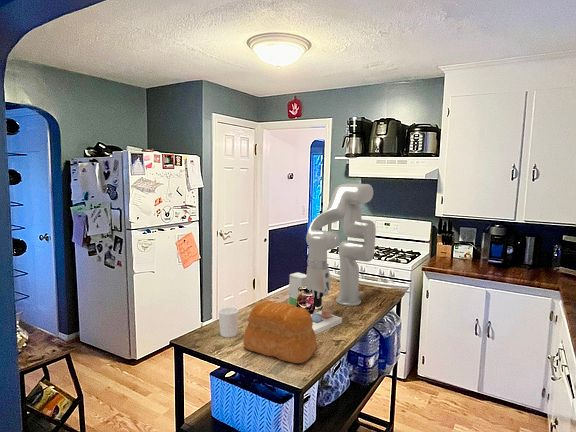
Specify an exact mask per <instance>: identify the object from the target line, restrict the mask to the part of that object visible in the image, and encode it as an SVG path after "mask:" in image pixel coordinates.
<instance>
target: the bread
mask: <svg viewBox="0 0 576 432" xmlns="http://www.w3.org/2000/svg"><path fill="white" fill-rule="evenodd" d="M247 321H248V323H247V326H246V328H245V331H244V335H243V346H244V348H246V349H247V350H249V351H251V352H255V353H258V354H261V355H264V356H268V357H275V358H277V359H278V360H281V361H286V362H289V363H292V364H293V363H294V364H303V363H305V362H307V361H308V360H309V359H310V358H311V357H313V356H314V354H315V351H316V350H317V347H318V343H317V336H316V335H317V334H316V335H315V332H314V330H313V328H312V325H313V321H312V317H311V313H310V312H309V311H308V309H306V308H305V307H303V306H300V307H296V306H294V305H291V304H288V303H285V302H274V301H273V300H272V301H271V300H264V301H262V302H260V303H258V304H256V305H254V307H253V308H252V309H251V311H250V312H249V315H248V318H247Z"/></svg>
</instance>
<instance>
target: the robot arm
mask: <svg viewBox="0 0 576 432" xmlns="http://www.w3.org/2000/svg"><path fill="white" fill-rule="evenodd" d="M373 196H374V188H373V187H372V185H371V184H369V183H342V184H340V185H337V186H336V187H335V188H334V190H333V192H332V195H331V198H330V201H329V203H328V205H327V208H326V210H324V211H323V212H320V213H319V215H317V216H316V217H315V218H314V219H313V220H312V221H311V222H310V224H309V227H308V230H307V232H306V237H305V240H306V241H305V242H306V244H307V245H308V265H307V269H306V275H307V277H306V285H307V289H308V290H309V292H310V293H311V295H312V297H313V307H315V308H320V307H321V306H322V304H323V301H322V299H323V297H324V296H325V297H326V296H329V295H330V293H329V291H331V289H332V288H331V274H330V268H329V263H328V250H334V249H337V247H338V256H339V285H338V286H339V287H338V288H339V289H338V290H339V293H338V296H337V297H336V298H335V302H336V303H337V304H339V305H342V306H348V307H350V306H351V307H354V306H358V305H360V304H361V303H362V299H361V298H360V296H362V295H363V294H364V293H363V291H361V290H360V291H359V282H360V281H359V278H360V276H359V275H360V267H359V265H358V262H371V261H372V260H373V259H374V255H375V249H376V247H375V245H376V234H377V232H376V231H377V230H376V229H377V228H376V224H375V223H374V221H372V220H370V219H363V218H362V214H363V212H362V211H363V210H362V207H361V205H364V204H367V203H369V202H370V201H371V200H372V199H373ZM341 220H343V229H342V230H343V235H344V236H345V237H347V238H351V239H360V240H363V241H360V240H359V241H358V240H351V239H349V240H348V239H346V240H343V241H341V239H340V236H339V234H338V233H337V232H335V231H331V230H330V231H329V230H321V229H322V228H324V227H325V226H327V225H331V224H333V223H336V222H338V221H341ZM340 241H341V242H340Z"/></svg>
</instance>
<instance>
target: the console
mask: <svg viewBox="0 0 576 432" xmlns="http://www.w3.org/2000/svg"><path fill="white" fill-rule="evenodd" d="M315 313H317V314H321V322H319V323H315V322H313V325H312V328H313V330H314V332H315V335H318V334H321V333H322V332H325V331H327V330H329V329H331V328H333V327H335V326H338V325H340V324H343V317H340V316H337V315H334V314H332V313H331V318H329V319H325V318H322V310H319V311H316V312H314V313H310V315H311V317H312V314H315Z"/></svg>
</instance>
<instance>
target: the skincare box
mask: <svg viewBox="0 0 576 432" xmlns="http://www.w3.org/2000/svg"><path fill="white" fill-rule="evenodd" d="M306 277H307V274H305V273H302V272H298V271H297V272H294V273H290V274H289V283H288V285H289V286H288V302H287V304H291V305H294V306H296V301H297V294H298V288H299V287H301V286H306Z"/></svg>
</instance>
